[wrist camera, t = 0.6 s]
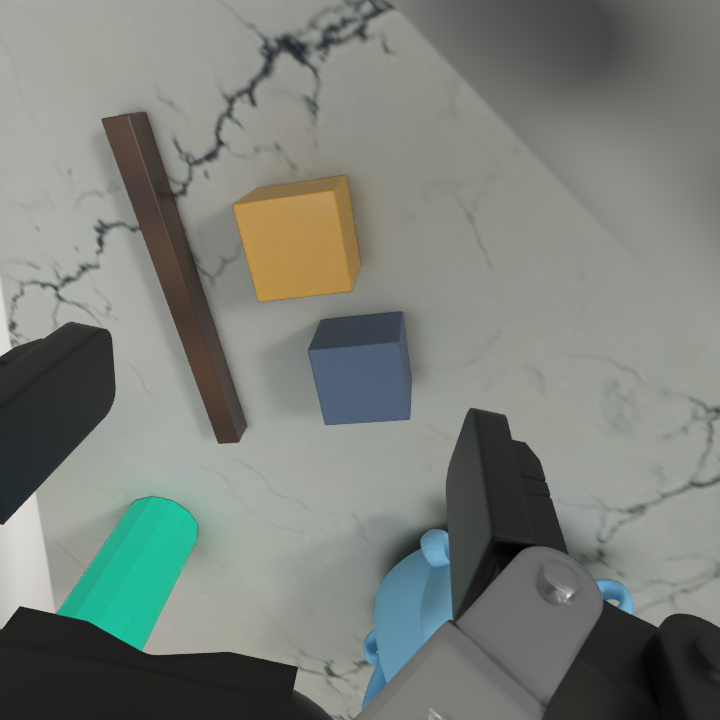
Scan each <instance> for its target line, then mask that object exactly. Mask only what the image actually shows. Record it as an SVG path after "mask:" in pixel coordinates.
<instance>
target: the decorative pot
mask: <svg viewBox="0 0 720 720" xmlns="http://www.w3.org/2000/svg"><path fill="white" fill-rule="evenodd" d="M420 543H421V549H419V550H417V551H415V552H414V553H412V554H410V555H409V556H407V557H406V558H405V559H403V560H402V561H401V562H400V563H398V564H397V565H396V566H395V567H394V568H393V569H392V570H391V571H390V572H389V573H388V575H387V576H386V577H385V578H384V580H383V581H382V582H381V584H380V586H379V588H378V591H377V593H376V597H375V607H374V621H375V630H373V631H372V632H370V633H369V634H368V635H367V637H366V639H365V642H364V655H365V658H366V660H367V662H368V663H369V664H370V665H372V666H375V669H374V672H373V674H372V677H371V679H370V682H369V684H368V687H367V690H366V693H365V696H364V700H363V705H362V710H363V709H364V708H365V707H366V706H367V704H368V703H369V702H370V701H371V700H372V699H373V698H374V697H375V696H376V695H377V694H378V693H379V692H380V690H381V689H382V688H383V687H384V686H385V685H386V684H387V683H388V682H389V681H390V680H391V679H392V678H393V676H394V675H395V674H396V673H397V672H398V671H399V670H400V669H401V668H402V667H403V666H404V665H405V664H406V662H407V661H408V660H409V659H410V658H411V657H412V656H413V655H414V654H415V653H416V652H417V651H418V650H419V648H420V647H421V646H422V645H423V644H424V643H425V642H426V641H427V640H428V639H429V638H430V637H431V636H432V635H433V633H434V632H435V631H436V630H437V629H438V628H439V627H440V626H441V625H442V624H443V623H445V622H446V621H448V620H450V619H451V620H452V621H453V618H452V599H451V579H450V560H449V541H448V533H447V532H445V531H444V530H439V529H431V530H429V531H427V532H426V533H425V534H424V535H423V536H422V538H421V540H420ZM595 581H596V583H597V584H598V586H599V588H600V590H601V594H602V597H603V599H604V600H605V601H606V600H608V599H615V600H618V601H620V604H619V605H618V606H616V607H617V608H619V609H621V610H623V611H625V612H627V613H629V614H632V611H633V605H634V604H633V599H632V595H631V594H630V592H629V590H628V589H627V588H626V587H625V586H624V585H623V584H621V583H620V582H618V581H615V580H611V579H604V578H603V579H597V580H595ZM377 650H378V653H376V652H377Z"/></svg>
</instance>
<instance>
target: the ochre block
mask: <svg viewBox="0 0 720 720" xmlns="http://www.w3.org/2000/svg"><path fill="white" fill-rule="evenodd" d="M233 210H234V214H235V217H236V221H237V225H238V228H239V232H240V236H241V240H242V243H243V247H244V251H245V254H246V258H247V262H248V265H249V269H250V273H251V277H252V280H253V284H254V288H255V291H256V295H257V299H258V301H259V302H263V301H272V300H281V299H290V298H299V297H308V296H317V295H326V294H335V293H344V292H352V291H353V288H354V285H355V282H356V279H357V276H358V273H359V270H360V267H361V263H360V256H359V250H358V244H357V238H356V232H355V226H354V220H353V214H352V207H351V201H350V195H349V189H348V183H347V177H346V175H342V176H335V177H328V178H322V179H315V180H309V181H302V182H295V183H289V184H282V185H275V186H269V187H262V188H257V189H255V190H254V191H252V192H251V193H249V194H248V195H246V196H245V197H243V198H242V199H240V200H239V201H237V202H236V203H234V204H233Z"/></svg>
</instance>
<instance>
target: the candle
mask: <svg viewBox="0 0 720 720" xmlns="http://www.w3.org/2000/svg"><path fill="white" fill-rule="evenodd" d="M197 536H198V525H197V523H196V522H195V520H194V519H193V517H192V516H191V514H190V513H189V511H187V510H186V509H184V508H183V507H181V506H179V505H178V504H176V503H175V502H173V501H171V500H166V499H162V498H157V497H148V498H143V499H138V500H136V501H135V502H134V503H133V504H132V505H131V506H130V508H129V509H128V510H127V511H126V513H125V514H124V516H123V517H122V519H121V520H120V522H119V523H118V524H117V526H116V527H115V529H114V530H113V532H112V533H111V535H110V536H109V538H108V539H107V541H106V542H105V543H104V545H103V546H102V548H101V549H100V551H99V552H98V554H97V555H96V557H95V558H94V559H93V561H92V562H91V564H90V565H89V567H88V568H87V570H86V571H85V573H84V574H83V576H82V577H81V578H80V580H79V581H78V583H77V584H76V586H75V587H74V589H73V590H72V592H71V593H70V595H69V596H68V597H67V599H66V600H65V602H64V603H63V605H62V606H61V608H60V609H59V611H58V612H57V613H56V614H58V615H62V616H67V617H72V618H76V619H81V620H85V621H89V622H90V623H92V624H94V625H96V626H98V627H99V628H101V629H103V630H105V631H106V632H108V633H110V634H112V635H114V636H115V637H117V638H119V639H121V640H122V641H124V642H126V643H128V644H130V645H131V646H133V647H135V648H137V649H138V650H140V651H142V650H143V648H144V646H145V644H146V642H147V640H148V638H149V636H150V634H151V632H152V629H153V627H154V625H155V623H156V621H157V619H158V617H159V615H160V613H161V611H162V609H163V607H164V605H165V603H166V601H167V599H168V597H169V595H170V593H171V591H172V589H173V587H174V585H175V583H176V581H177V579H178V577H179V575H180V573H181V571H182V569H183V566H184V564H185V562H186V560H187V558H188V556H189V554H190V552H191V550H192V548H193V546H194V544H195V542H196V540H197Z"/></svg>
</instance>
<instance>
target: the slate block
mask: <svg viewBox="0 0 720 720" xmlns="http://www.w3.org/2000/svg"><path fill="white" fill-rule="evenodd" d="M308 354H309V358H310V362H311V367H312V371H313V375H314V380H315V384H316V388H317V392H318V397H319V401H320V405H321V410H322V414H323V418H324V423H325V425H336V424H351V423H367V422H382V421H398V420H410V415H411V391H412V380H411V372H410V365H409V357H408V349H407V341H406V334H405V326H404V318H403V313H402V312H394V313H385V314H375V315H365V316H355V317H345V318H335V319H325V320H321V321H320V323H319V325H318V328H317V330H316V333H315V335H314V337H313V340H312V342H311V344H310V347H309V349H308Z"/></svg>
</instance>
